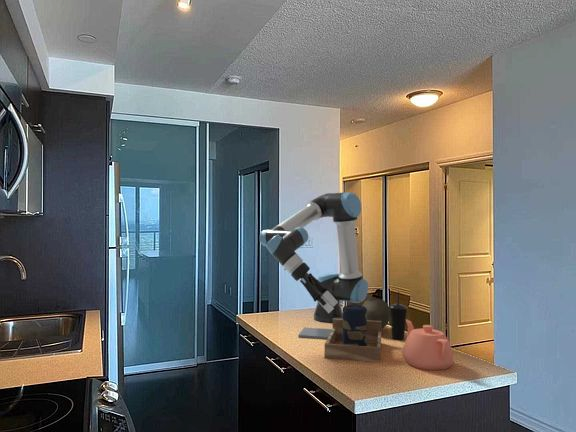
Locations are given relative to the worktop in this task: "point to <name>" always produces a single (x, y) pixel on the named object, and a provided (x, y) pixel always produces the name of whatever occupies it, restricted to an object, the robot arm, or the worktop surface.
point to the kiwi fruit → (377, 311)
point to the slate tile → (315, 333)
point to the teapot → (427, 348)
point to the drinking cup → (398, 320)
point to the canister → (355, 325)
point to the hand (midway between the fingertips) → (333, 307)
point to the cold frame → (350, 350)
